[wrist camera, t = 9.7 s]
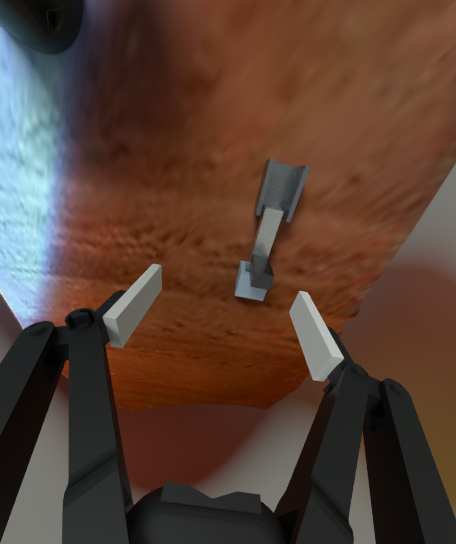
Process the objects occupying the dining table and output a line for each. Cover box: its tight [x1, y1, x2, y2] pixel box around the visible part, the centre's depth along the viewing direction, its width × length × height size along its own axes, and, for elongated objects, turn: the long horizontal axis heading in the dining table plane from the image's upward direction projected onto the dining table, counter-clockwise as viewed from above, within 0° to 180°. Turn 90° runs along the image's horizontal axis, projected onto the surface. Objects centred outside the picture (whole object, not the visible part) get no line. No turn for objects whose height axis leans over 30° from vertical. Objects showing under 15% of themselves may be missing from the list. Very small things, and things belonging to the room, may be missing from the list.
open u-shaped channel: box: [254, 158, 310, 222], centre depth 32 cm, size 9×7×5 cm
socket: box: [235, 260, 267, 301], centre depth 41 cm, size 6×7×7 cm
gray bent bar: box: [246, 205, 284, 290], centre depth 34 cm, size 16×3×11 cm, turn 169°
